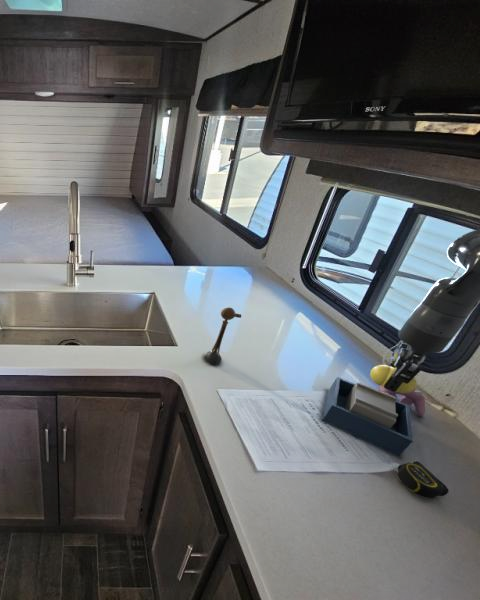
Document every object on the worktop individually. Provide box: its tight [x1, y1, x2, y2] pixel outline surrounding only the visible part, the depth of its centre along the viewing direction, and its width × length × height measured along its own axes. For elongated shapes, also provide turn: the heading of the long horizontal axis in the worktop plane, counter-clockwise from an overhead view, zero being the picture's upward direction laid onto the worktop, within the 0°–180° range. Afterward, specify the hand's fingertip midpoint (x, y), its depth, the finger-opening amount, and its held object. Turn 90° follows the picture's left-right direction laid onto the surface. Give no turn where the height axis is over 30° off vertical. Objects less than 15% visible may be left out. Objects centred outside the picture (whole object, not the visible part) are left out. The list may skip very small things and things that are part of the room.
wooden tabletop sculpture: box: [204, 306, 242, 366], centre depth 98 cm, size 6×5×20 cm
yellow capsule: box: [369, 364, 418, 393], centre depth 77 cm, size 8×5×5 cm, turn 51°
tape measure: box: [396, 460, 449, 499], centre depth 69 cm, size 7×7×4 cm
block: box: [344, 381, 398, 429], centre depth 83 cm, size 8×10×9 cm
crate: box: [322, 376, 414, 457], centre depth 83 cm, size 16×14×6 cm
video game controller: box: [378, 385, 426, 417], centre depth 89 cm, size 10×5×7 cm, turn 65°
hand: (388, 382), depth 77 cm, fingers closed on yellow capsule, 5 cm apart
